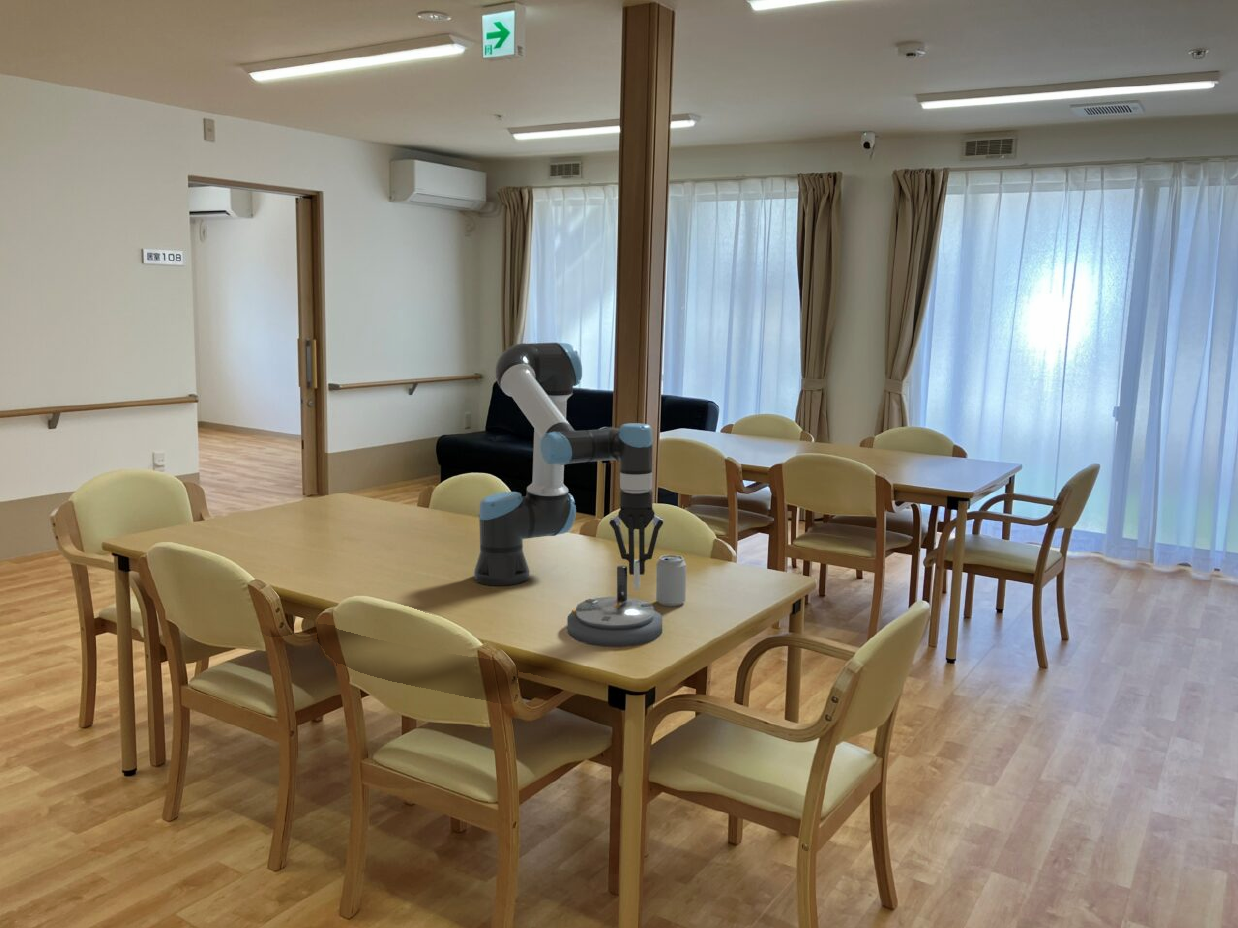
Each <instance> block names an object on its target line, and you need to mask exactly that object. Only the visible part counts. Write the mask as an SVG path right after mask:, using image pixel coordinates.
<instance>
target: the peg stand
mask: <svg viewBox="0 0 1238 928" xmlns="http://www.w3.org/2000/svg"><path fill="white" fill-rule="evenodd" d="M575 610H576V619H577V620H578V621H579V622H580V623H582V624H584V625H587V626H590V627H594V628H600V629H630V628H636V627H640V626H644V625H646V624H648V623H650V622H651V621H652V620H653V618H654V610H655V608H654V605H653V604H652V603H650V602H648V601H645V600H643V599H639V598H635V597H628V566H627V565H618V566H616V596H603V597H602V596H601V597H594V598H588V599H585V600H584V601H581V602H580V603H578V604H577V605H576V607H575Z"/></svg>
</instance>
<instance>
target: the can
mask: <svg viewBox="0 0 1238 928" xmlns="http://www.w3.org/2000/svg"><path fill="white" fill-rule="evenodd" d="M658 559H659V560H657V562H656V579H655V580H656V581H655V582H656V589H655V591H656V592H655V593H656V596H655V598H656V599H655V600H656V601H657V603H659V605H661V606H664V607H678V606H682V605H683V604H684V603H685V602H686V600H687V599H686V597H687V596H686V594H687V593H686V590H687V589H686V588H687V585H686V584H687V563H686V562H685V561H684V560H685V559H684V557H683V556H682V555H677V554H664V555H661V556H659V558H658Z"/></svg>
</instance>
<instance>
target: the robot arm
mask: <svg viewBox="0 0 1238 928" xmlns="http://www.w3.org/2000/svg"><path fill="white" fill-rule="evenodd" d="M494 371H495V378H496V382H497V384H498V386H499V388H500V389H501V390H502V392H503V393H504V394H505V395H506V396H508V397H511V398H512V399H513V401H514V402H515V403H516V405H517V406H518V408H519V409H520V410H521V412H522V413H523V415H524V416H525V417H526V419H527V421H528V422H529V423H530V424H531V426H532V427H533V428H534V429H533V431H534V432H533V453H532V454H533V455H532V459H533V460H532V481H531V483H530V484H529V485H528V486H527V487H526V495H525V496H523V495H522V493H521V492H517V491H509V492H505V491H504V492H503V491H502V492H497V493H494V494H490V495H487V496H485V497H484V498H483V499H482V500H481V501H480V503H479V512H478V519H479V520H478V521H479V555H478V558H477V561H476V565H475V566H474V572H473V579H474V582H476V581H477V582H476V583H479V584H481V585H487V586H510V585H517V584H522V583H524V582H526V581H528V580H529V579H530V568H529V565H528V561H527V559H526V556H525V554H524V551H523V550H524V549H523V543H524V541H523V540H526V539H533V538H534V539H535V538H543V537H554V536H555V537H556V536H558V535H563V534H567V533H568V532H569V531H570V530H571V529H572V527H573V526H574V522H575V520H576V514H577V509H576V508H577V507H576V506H577V505H576V504H575V503H576V502H575V499H574V496H573V495H572V494H571V493H569V488H568V487H567V486H566V485H565V484H564V478H565V477H564V473H565V472H564V471H565V465H569V464H570V465H571V464H580V463H588V462H589V463H591V462H600V461H601V462H602V461H604V462H605V461H616V462H617V461H618V462H619V488H620V489H621V490H620V493H619V494H620V495H619V497H620V498H619V501H620V504H619V505H620V507H619V508H620V509H619V511H618V515H616V516H615V517H611V518H610V520H609V525H610V526H611V528H612V530H613V532H614V536H615V538H616V543H617V547H618V549H619V554H620V557H621V559H622V560H626V561H627V562H628V573H629V575H630V576H631V575H633V590H640V589H641V575H643V576H644V575H645V571H646V569H645V568H646V567H645V565H646V561H648V560H652V558H653V556H654V555H653V554H654V551H655V547H656V542H657V538H658V535H659V530H660V529H661V528H662V526H663V524H664V519H663V518H661V517H659V516H657V515H655V514H656V513H655V510H654V509H653V508H654V507H653V492H652V489H653V443H654V441H653V434H652V432H653V431H652V426H650V424H647V423H639V422H631V423H629V422H628V423H623V424H621V425H620V427H619V428H616V427H614V426H603V427H600V428H598V429H589V430H588V429H587V430H586V429H585V430H575V429H574V428H573V426H572V425H571V424H570V423H569V421H568V420H567V404H568V402H567V401H568V399H569V398H570V397H571V396H572V395H573V394H574V393H573V392H574V387H576V386H579V384H580V383H581V380H582V378H583V365H582V360H581V358H580V355H579V352H578V351H577V349H576V348H575V347H574V346H573V345H572V344H570V343H565V342H539V343H537V342H535V343H534V342H532V343H517V344H516V343H515V344H514V345H511V346H509V347H508V348H507V349H505V350H504V351H503V353H502V354H501V355H500V357H498V360H497V362H496V365H495V370H494ZM621 522H622V523H623V525H624V526H625V528H627V530H628V553H627V549H626V546H625V542H624V538H623V534H622V530H621V527H620V525H621ZM651 522H652V524H653V526H654V527H653V530H652V534H651V538H650V542H649V545H648V550H647V553H645V552H646V544H645V542H646V540H645V539H646V532H645V531H646V528H647V527H648V526H649V525H650V523H651ZM635 530H638V553H639V555H638V558H639V559H635Z"/></svg>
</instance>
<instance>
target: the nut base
mask: <svg viewBox="0 0 1238 928" xmlns="http://www.w3.org/2000/svg"><path fill="white" fill-rule="evenodd" d="M566 619H567V620H566V621H567V622H566V623H567V628H566V629H567V630H568V631H567V634H568V635H569V636H570V637H571V638H572V639H573V638H574V640H575V641H577V640H578V642H579V643H583V644H588V645H591V646H599V647H607V646H608V647H613V648H619V647H622V646H623V647H632V646H638V645H643V644H647V643H650V642H652V641H655V640H657V639H658V638H659V637H660V636H661V635H662V633H663V616H662V615H661V613H660V612H658V611H657V610H655V609H654V618H653V620H652V621H651V622H650V623H648V624H646V625H644V626H640V627H636V628H630V629H600V628H594V627H590V626H587V625H584V624H582V623H580V622H579V621H578V620H577V619H576V609H575V608H574V609H571V612H570V613H569V614H568V615H567V618H566Z"/></svg>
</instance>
